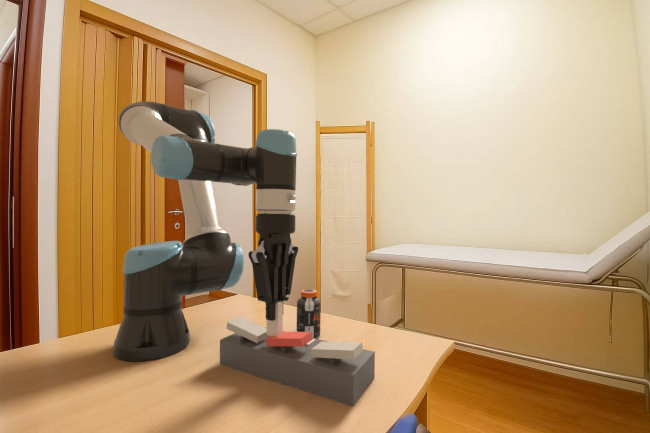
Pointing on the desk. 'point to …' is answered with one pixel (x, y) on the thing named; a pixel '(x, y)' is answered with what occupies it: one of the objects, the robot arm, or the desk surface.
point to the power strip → (301, 367)
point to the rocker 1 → (247, 329)
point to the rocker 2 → (337, 350)
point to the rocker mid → (290, 339)
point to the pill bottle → (309, 312)
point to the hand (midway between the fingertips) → (274, 334)
